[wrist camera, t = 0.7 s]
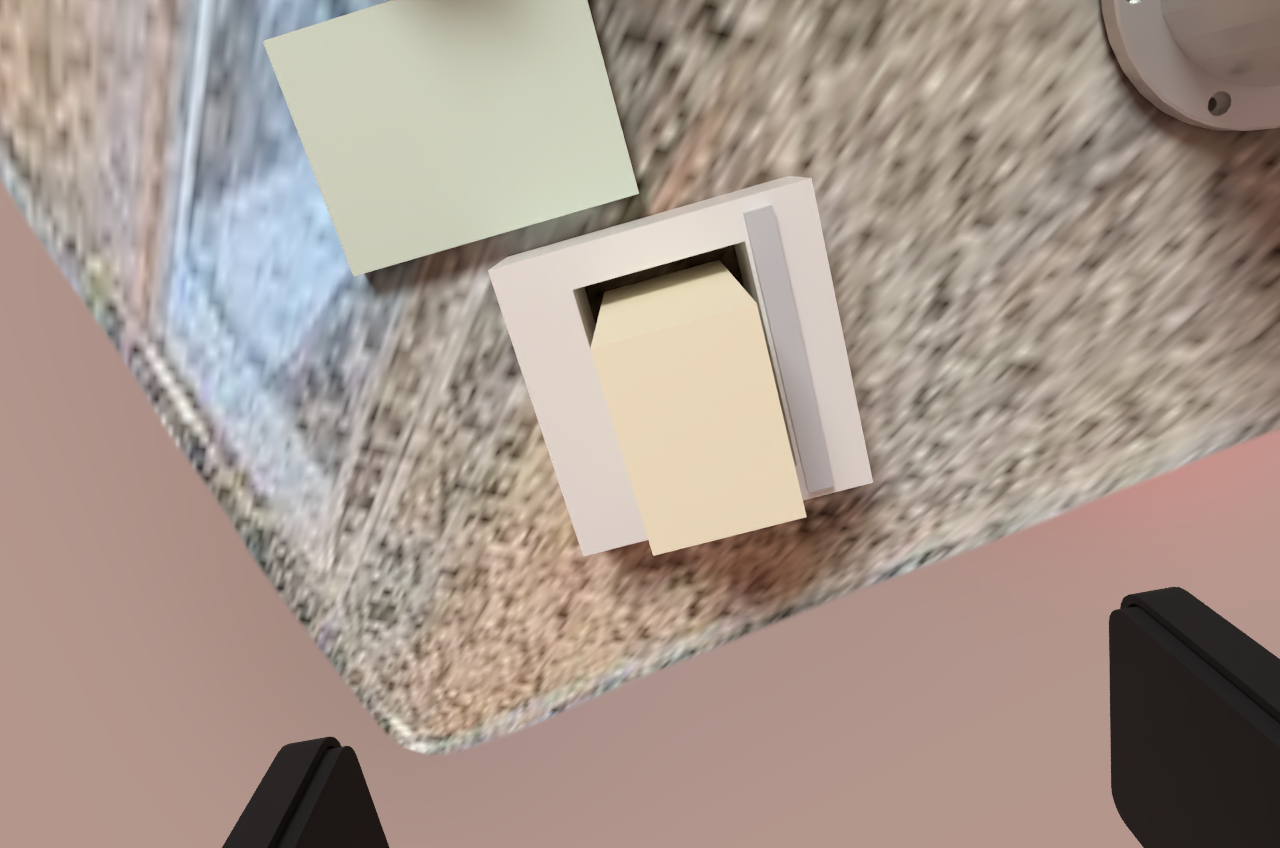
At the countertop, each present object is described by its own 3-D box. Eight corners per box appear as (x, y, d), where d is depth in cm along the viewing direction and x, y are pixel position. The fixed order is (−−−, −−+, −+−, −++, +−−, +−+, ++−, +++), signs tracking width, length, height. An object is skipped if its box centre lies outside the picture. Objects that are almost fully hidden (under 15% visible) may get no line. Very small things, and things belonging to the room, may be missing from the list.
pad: (574, -49, 30) (572, -57, 29) (639, 192, 33) (639, 193, 31) (276, 45, 31) (262, 41, 30) (363, 272, 34) (353, 276, 32)
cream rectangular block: (718, 259, 34) (756, 303, 23) (756, 413, 36) (806, 516, 25) (604, 291, 34) (590, 348, 23) (648, 442, 36) (653, 555, 26)
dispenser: (788, 176, 32) (814, 178, 28) (844, 444, 36) (876, 487, 31) (506, 256, 33) (485, 272, 29) (589, 511, 37) (582, 562, 32)
